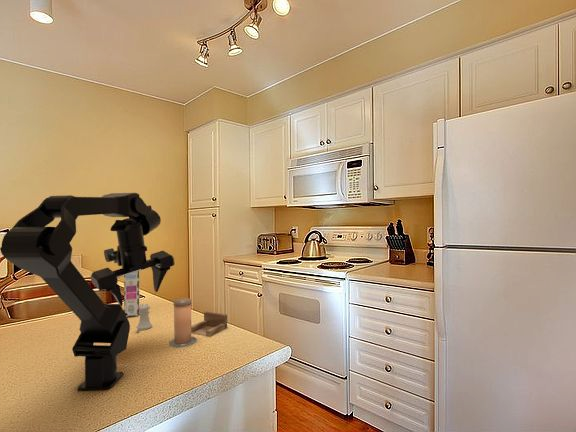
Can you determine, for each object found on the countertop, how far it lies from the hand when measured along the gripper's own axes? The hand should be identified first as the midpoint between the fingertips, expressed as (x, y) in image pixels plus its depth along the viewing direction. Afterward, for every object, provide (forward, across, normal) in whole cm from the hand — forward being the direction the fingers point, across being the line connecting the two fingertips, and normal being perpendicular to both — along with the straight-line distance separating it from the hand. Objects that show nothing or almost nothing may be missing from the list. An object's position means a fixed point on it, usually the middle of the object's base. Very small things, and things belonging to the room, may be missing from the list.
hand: (139, 298), depth 84 cm
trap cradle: (+16, -15, +7) cm, 23 cm away
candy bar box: (+24, -9, -32) cm, 41 cm away
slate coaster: (+13, -6, +9) cm, 17 cm away
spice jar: (+12, -6, +9) cm, 16 cm away
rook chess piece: (+18, -4, -10) cm, 21 cm away
